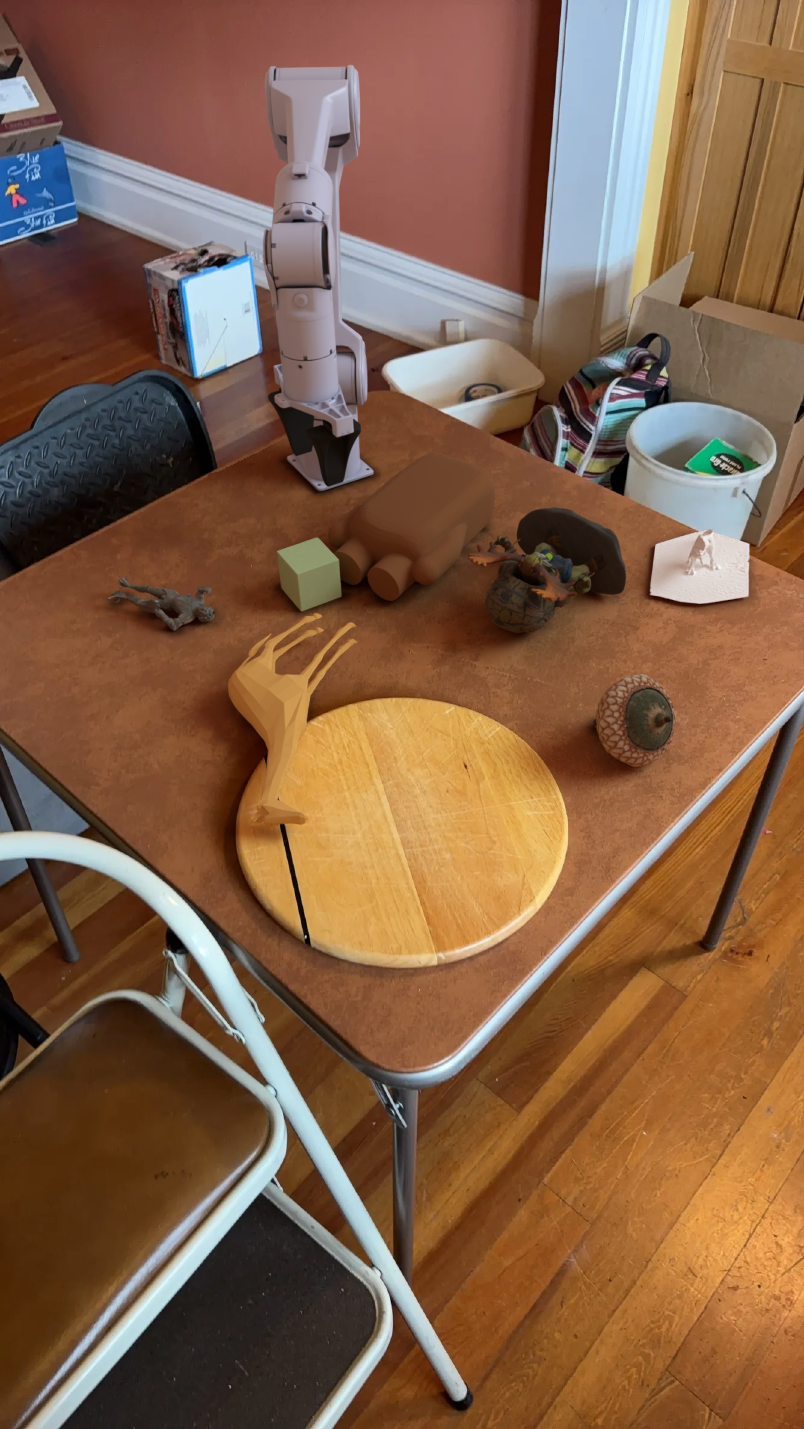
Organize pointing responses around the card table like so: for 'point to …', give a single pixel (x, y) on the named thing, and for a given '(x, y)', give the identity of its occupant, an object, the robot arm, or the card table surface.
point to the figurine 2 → (550, 567)
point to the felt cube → (309, 574)
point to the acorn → (635, 720)
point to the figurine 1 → (170, 603)
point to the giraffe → (279, 712)
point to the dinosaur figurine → (701, 568)
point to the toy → (414, 525)
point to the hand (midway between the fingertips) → (318, 467)
